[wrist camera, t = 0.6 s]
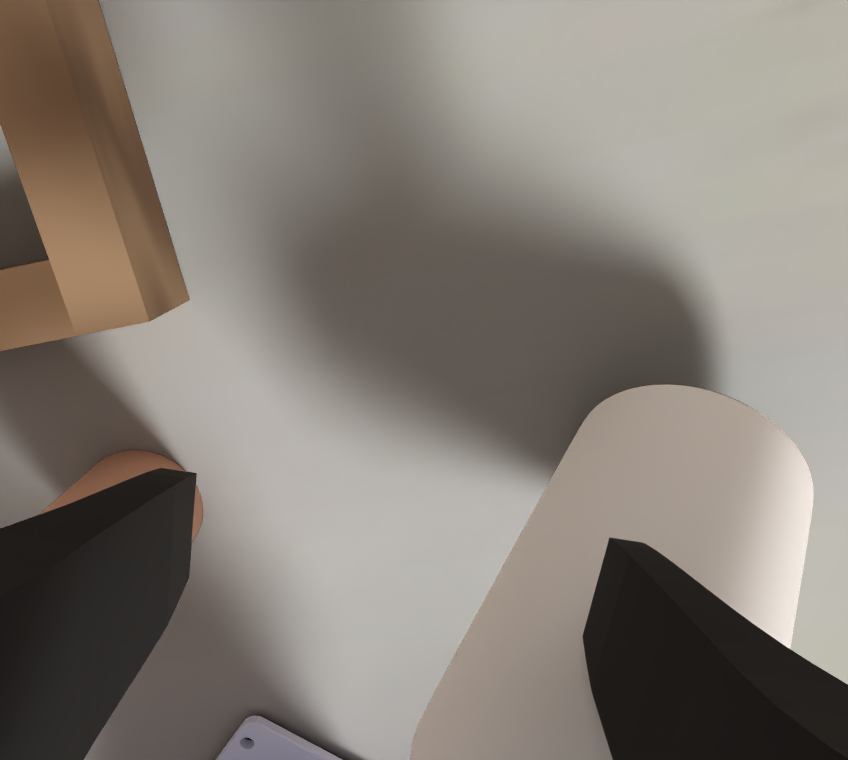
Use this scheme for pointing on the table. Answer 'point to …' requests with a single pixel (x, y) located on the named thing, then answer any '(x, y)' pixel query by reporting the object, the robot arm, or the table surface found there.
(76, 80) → the socket block
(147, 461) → the pin
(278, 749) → the robot arm
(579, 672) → the can
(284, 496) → the table surface
